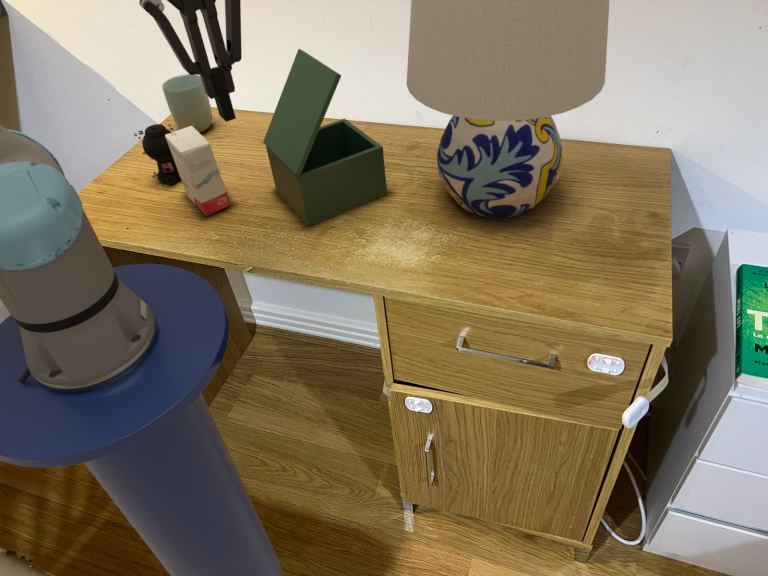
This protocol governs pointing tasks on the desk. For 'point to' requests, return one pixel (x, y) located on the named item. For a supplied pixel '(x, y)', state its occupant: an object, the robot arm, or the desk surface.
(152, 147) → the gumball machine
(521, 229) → the desk surface
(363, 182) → the chest
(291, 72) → the lid
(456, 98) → the table lamp
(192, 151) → the ink box
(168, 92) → the cup
